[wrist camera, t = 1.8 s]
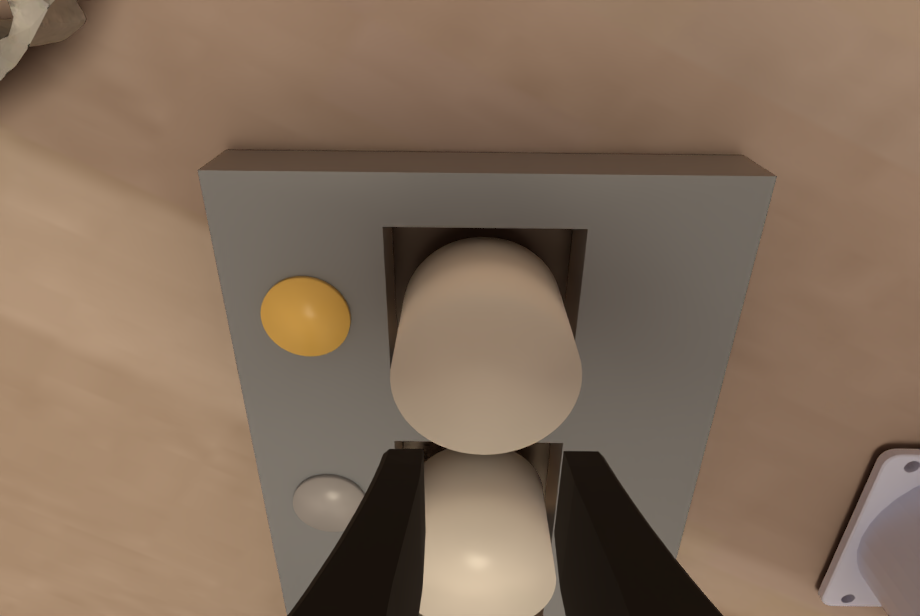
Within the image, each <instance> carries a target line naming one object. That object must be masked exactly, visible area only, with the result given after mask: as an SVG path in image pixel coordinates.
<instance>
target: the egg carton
mask: <svg viewBox="0 0 920 616" xmlns="http://www.w3.org/2000/svg"><path fill="white" fill-rule="evenodd" d="M7 1H8V3H9V5H10V8H11V12H12V15H13V19H1V20H0V80H1V79H2V78H3V77H5V76H6V75H7V74H8V73H9V72H10V71H11V70H12V69H13V68H14V67H15V66H16V65H17V63H18V62H19V60H20V59H21V57H22V56H23V55H24V53H25V52H26V50H27V49H28V47H31V46H40V45H45V44H49V43H57V42H61V41H63V40H65V39H67V38H68V37H70V36H71V35H72V34H73V33H75V32H76V31H77V30H78V29H79V28H81V27H82V26H83V24H84V23H85V21H86V18H85V15H84V13H83V11H82V10H81V8H80V7H79V5H78V3H77V1H76V0H7Z"/></svg>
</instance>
